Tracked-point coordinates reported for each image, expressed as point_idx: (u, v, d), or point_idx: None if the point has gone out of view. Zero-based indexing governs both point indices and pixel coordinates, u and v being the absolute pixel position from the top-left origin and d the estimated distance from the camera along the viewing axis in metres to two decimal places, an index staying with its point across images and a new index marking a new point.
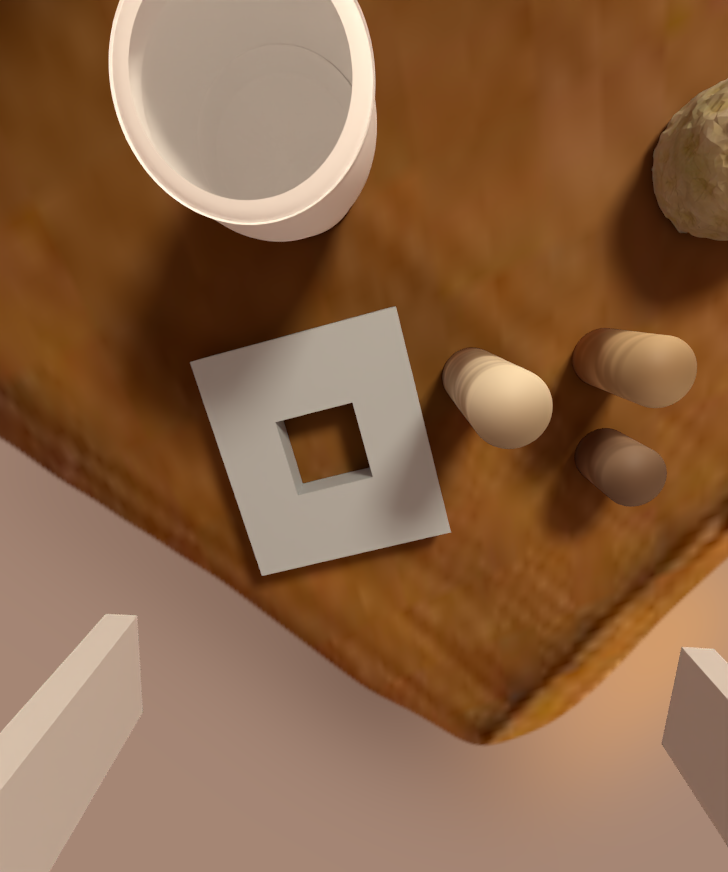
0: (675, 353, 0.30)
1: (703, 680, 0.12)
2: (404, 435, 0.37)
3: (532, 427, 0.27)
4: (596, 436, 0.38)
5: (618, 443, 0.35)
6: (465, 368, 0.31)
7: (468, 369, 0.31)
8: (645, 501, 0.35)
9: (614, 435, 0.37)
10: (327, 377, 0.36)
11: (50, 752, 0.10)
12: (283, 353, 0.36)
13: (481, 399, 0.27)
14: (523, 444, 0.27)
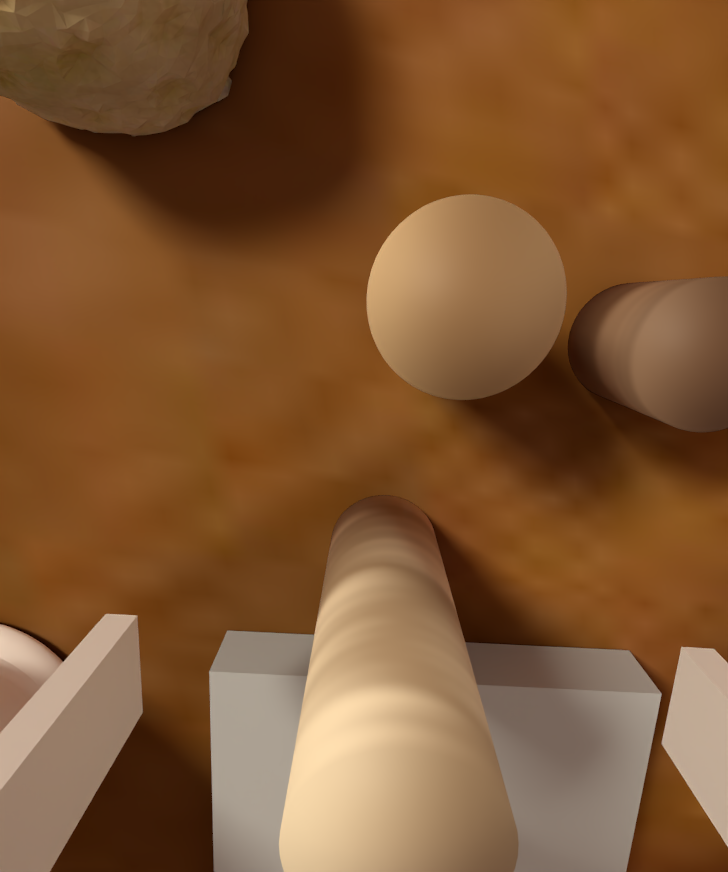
0: (429, 249, 0.11)
1: (703, 680, 0.12)
2: None
3: (472, 812, 0.09)
4: (579, 360, 0.18)
5: (615, 358, 0.15)
6: None
7: None
8: None
9: (593, 336, 0.17)
10: None
11: (50, 752, 0.10)
12: (239, 848, 0.21)
13: None
14: (513, 842, 0.09)
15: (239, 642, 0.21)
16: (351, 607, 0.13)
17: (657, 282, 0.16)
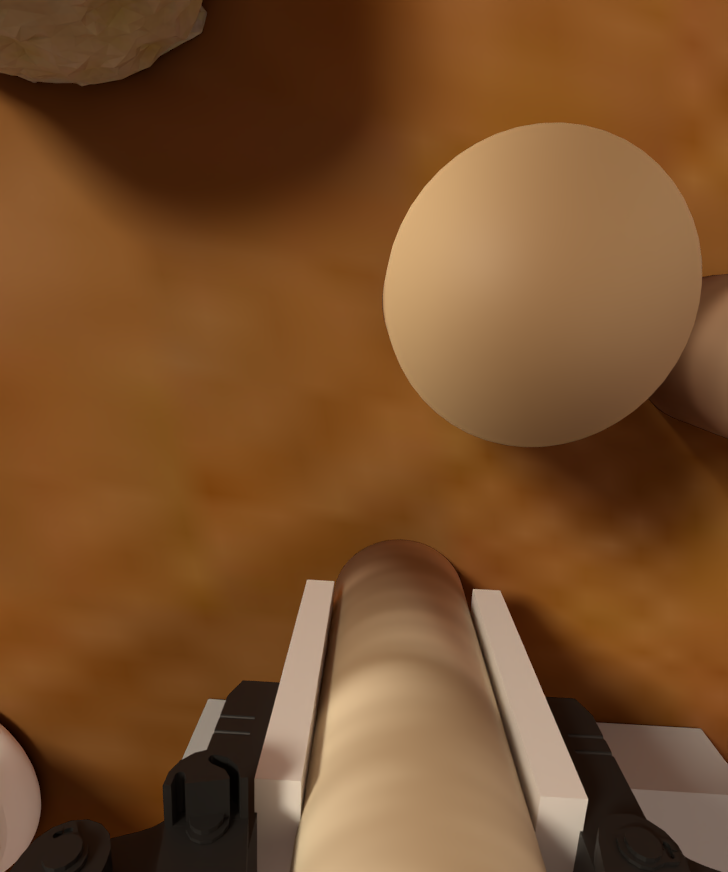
0: (485, 212, 0.07)
1: (478, 613, 0.14)
2: None
3: None
4: None
5: (726, 379, 0.11)
6: None
7: None
8: None
9: None
10: None
11: (319, 684, 0.12)
12: None
13: None
14: None
15: None
16: (359, 736, 0.09)
17: None
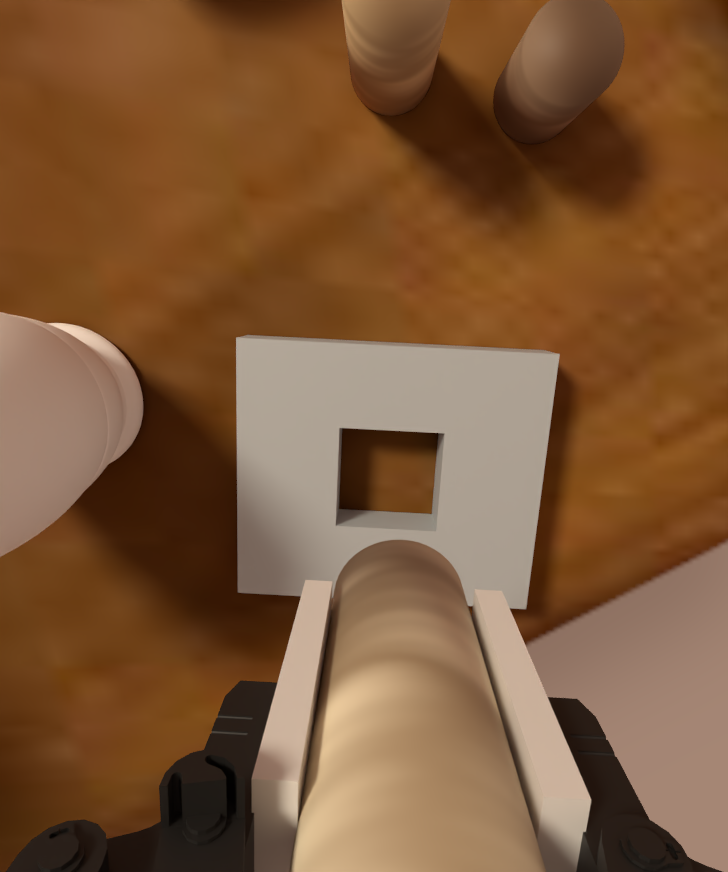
0: None
1: (480, 613, 0.14)
2: (403, 375, 0.27)
3: None
4: (500, 107, 0.26)
5: (515, 72, 0.23)
6: None
7: None
8: (620, 34, 0.21)
9: (504, 77, 0.24)
10: (299, 447, 0.28)
11: (317, 684, 0.12)
12: (256, 487, 0.29)
13: None
14: None
15: (256, 336, 0.29)
16: (359, 736, 0.09)
17: None
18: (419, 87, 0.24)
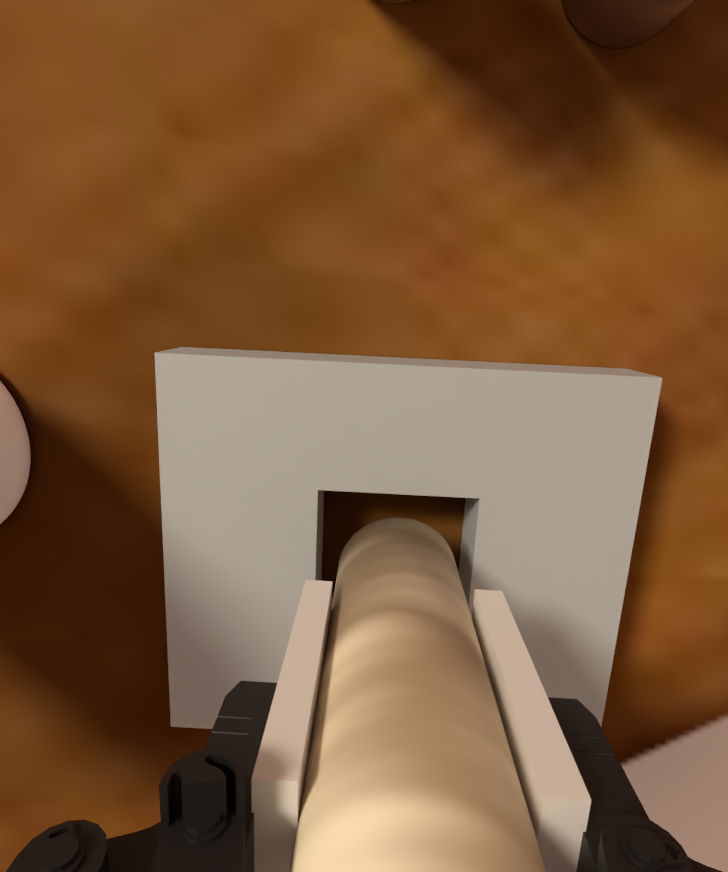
0: None
1: (480, 614, 0.14)
2: (416, 411, 0.17)
3: None
4: None
5: None
6: None
7: None
8: None
9: None
10: (256, 519, 0.19)
11: (317, 684, 0.12)
12: (193, 578, 0.19)
13: None
14: None
15: (193, 349, 0.19)
16: (362, 667, 0.11)
17: None
18: None
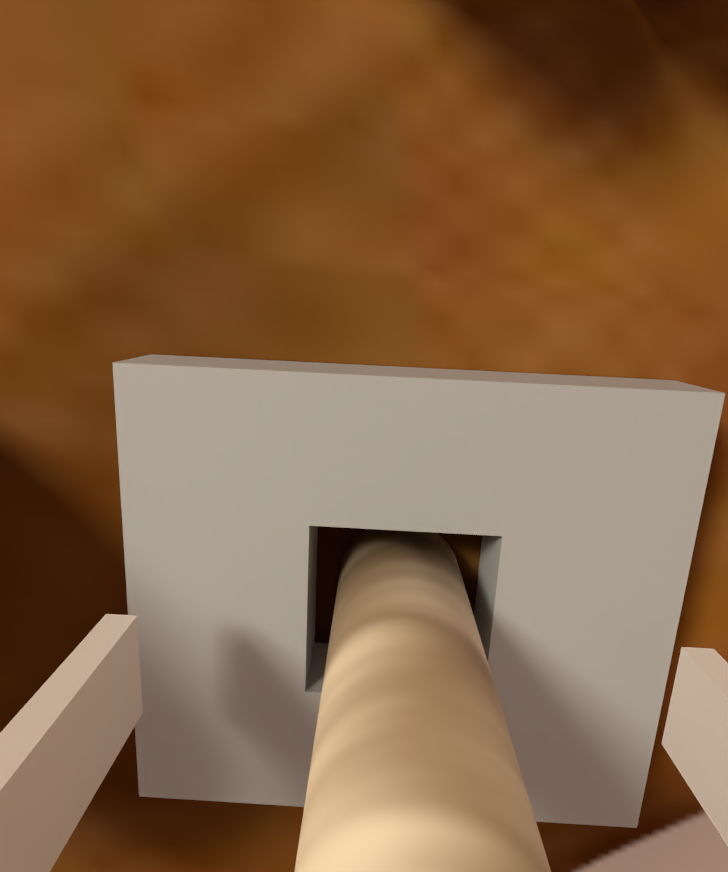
0: None
1: (703, 680, 0.12)
2: (427, 433, 0.15)
3: None
4: None
5: None
6: None
7: None
8: None
9: None
10: (237, 560, 0.16)
11: (50, 752, 0.10)
12: (163, 627, 0.16)
13: None
14: None
15: (162, 357, 0.16)
16: (366, 676, 0.11)
17: None
18: None
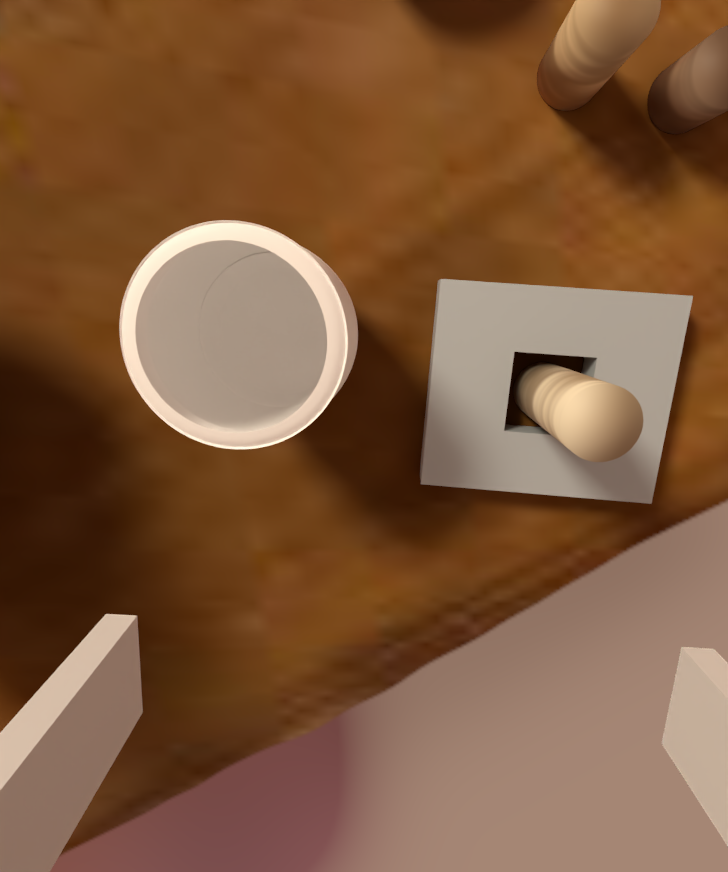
0: None
1: (703, 680, 0.12)
2: (568, 311, 0.35)
3: (628, 409, 0.27)
4: (662, 117, 0.34)
5: (685, 96, 0.31)
6: (539, 421, 0.33)
7: (542, 423, 0.32)
8: None
9: (665, 98, 0.32)
10: (481, 367, 0.36)
11: (50, 752, 0.10)
12: (444, 398, 0.37)
13: (581, 447, 0.28)
14: (641, 421, 0.27)
15: None
16: (560, 377, 0.31)
17: None
18: (598, 89, 0.33)
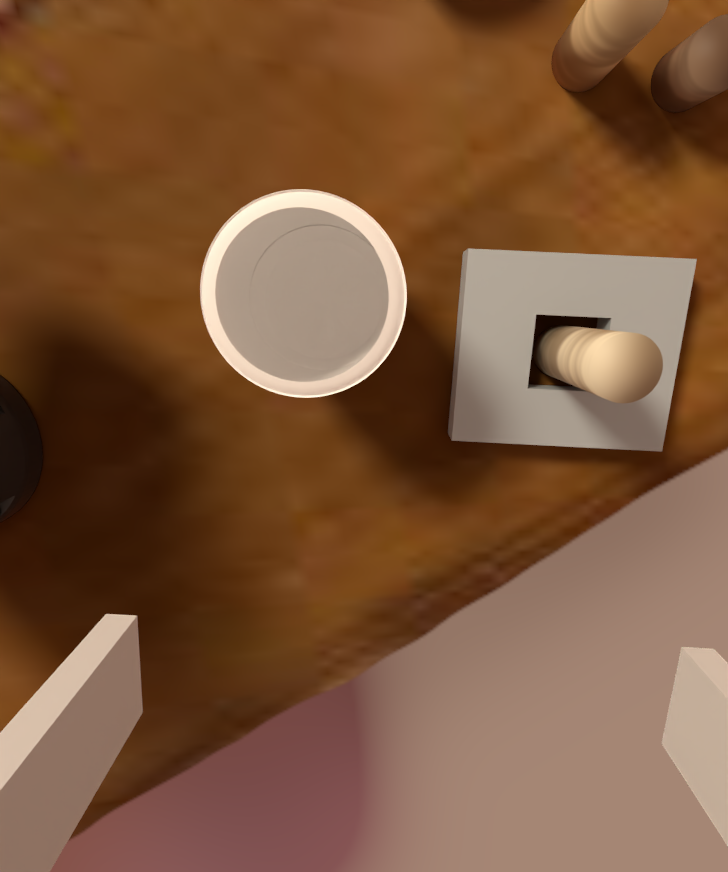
0: None
1: (703, 680, 0.12)
2: (584, 275, 0.39)
3: (649, 354, 0.31)
4: (667, 102, 0.37)
5: (685, 85, 0.35)
6: (563, 374, 0.36)
7: (567, 375, 0.35)
8: None
9: (667, 87, 0.36)
10: (506, 329, 0.40)
11: (50, 752, 0.10)
12: (472, 360, 0.40)
13: (608, 390, 0.31)
14: (661, 365, 0.31)
15: None
16: (584, 332, 0.35)
17: (679, 45, 0.35)
18: (609, 71, 0.36)
